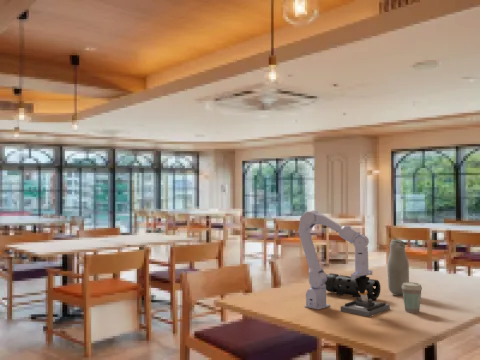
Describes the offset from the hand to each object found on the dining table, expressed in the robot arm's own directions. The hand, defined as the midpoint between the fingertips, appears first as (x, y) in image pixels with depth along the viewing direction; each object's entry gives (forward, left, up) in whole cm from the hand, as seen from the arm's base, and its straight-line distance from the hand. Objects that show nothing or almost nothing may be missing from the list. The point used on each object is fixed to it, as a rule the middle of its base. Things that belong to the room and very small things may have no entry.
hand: (362, 293), depth 203 cm
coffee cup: (+14, -16, -8) cm, 23 cm away
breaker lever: (+2, 0, -4) cm, 5 cm away
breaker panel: (+2, 0, -8) cm, 8 cm away
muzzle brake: (+20, +19, -8) cm, 29 cm away
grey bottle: (+39, +3, -8) cm, 40 cm away
